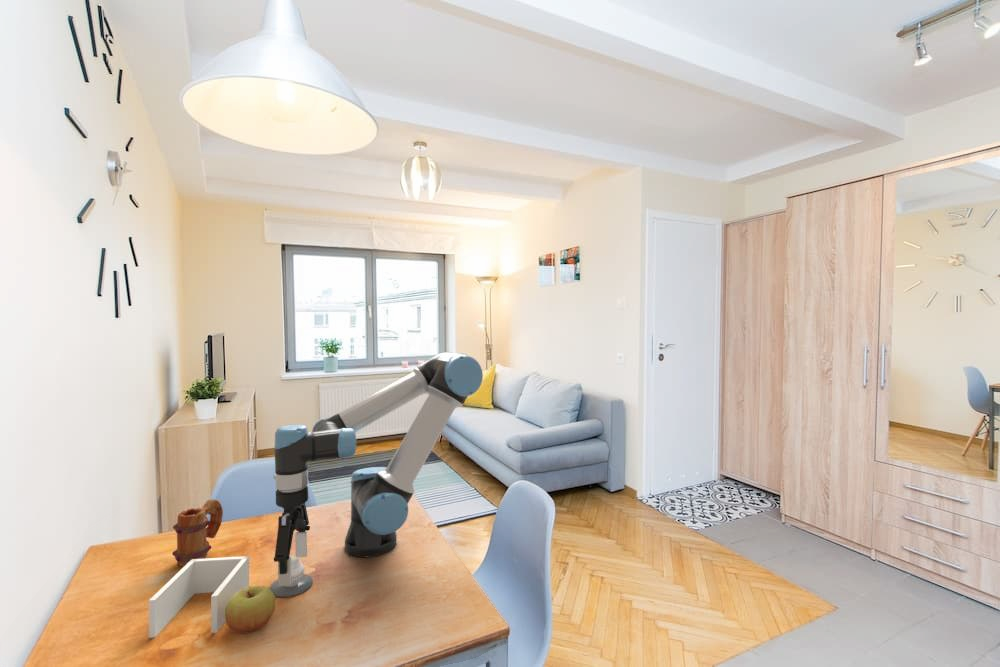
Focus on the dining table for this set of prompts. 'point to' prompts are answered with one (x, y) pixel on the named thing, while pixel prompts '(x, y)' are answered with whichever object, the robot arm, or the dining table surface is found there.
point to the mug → (196, 531)
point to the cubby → (199, 589)
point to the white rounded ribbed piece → (296, 571)
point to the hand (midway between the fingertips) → (293, 569)
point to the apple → (250, 609)
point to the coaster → (292, 591)
